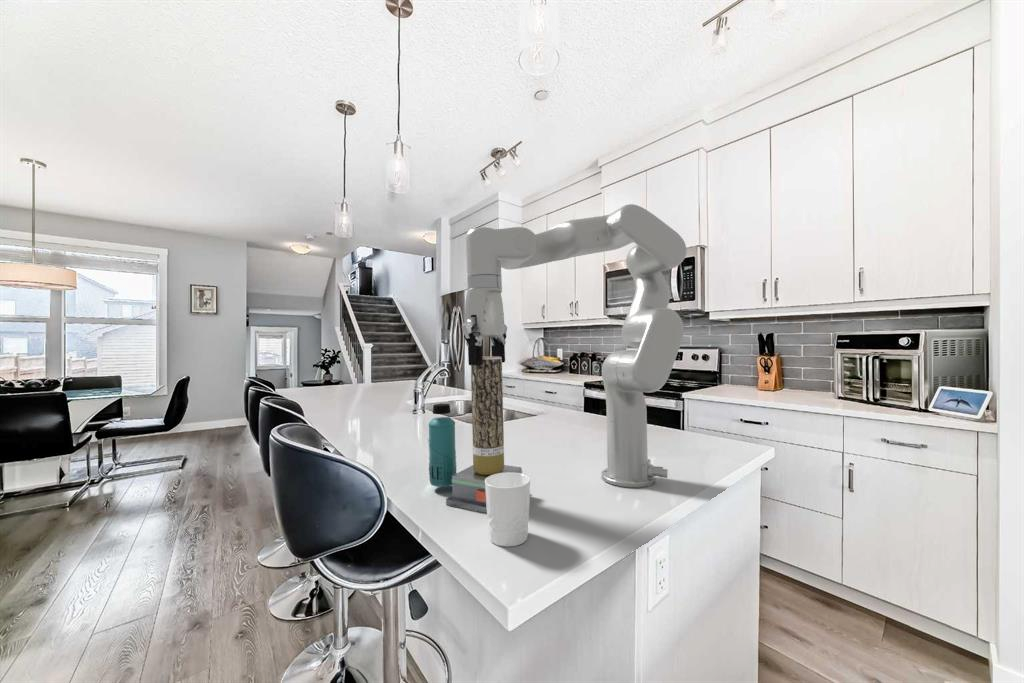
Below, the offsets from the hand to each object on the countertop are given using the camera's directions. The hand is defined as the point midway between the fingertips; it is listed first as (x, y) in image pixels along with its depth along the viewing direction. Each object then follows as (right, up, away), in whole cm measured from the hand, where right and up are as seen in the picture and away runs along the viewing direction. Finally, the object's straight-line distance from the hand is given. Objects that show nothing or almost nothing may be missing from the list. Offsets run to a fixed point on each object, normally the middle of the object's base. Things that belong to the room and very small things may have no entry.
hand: (487, 363), depth 85 cm
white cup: (+5, -29, -18) cm, 35 cm away
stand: (0, -30, -1) cm, 30 cm away
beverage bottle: (-11, -30, +6) cm, 33 cm away
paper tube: (0, -24, 0) cm, 24 cm away
